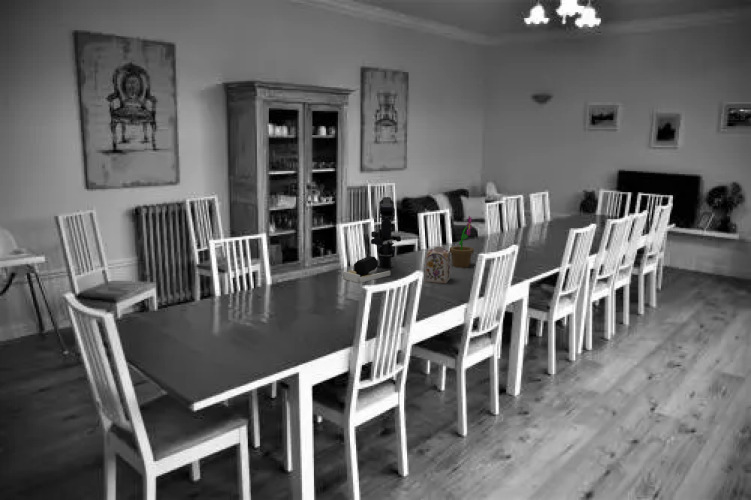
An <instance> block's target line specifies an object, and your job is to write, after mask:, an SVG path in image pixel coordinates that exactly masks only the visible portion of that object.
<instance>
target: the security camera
mask: <svg viewBox="0 0 751 500" xmlns="http://www.w3.org/2000/svg"><path fill="white" fill-rule="evenodd" d="M378 262H379V261H378V258H376V256H371V255H369V256H366V257H364V258H362V259H359V260H357V261H356V262H355V263H353V271H355V272H356V274H357V275H360V277H362V276H366V275H370V273H369V272H370V271H373V270H375V269H376V270H377V268H379V267H378V266H379V265H378V264H379V263H378Z"/></svg>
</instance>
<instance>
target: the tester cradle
mask: <svg viewBox="0 0 751 500" xmlns="http://www.w3.org/2000/svg"><path fill="white" fill-rule="evenodd" d="M376 271H377V268H376V269H375V270H373V271H370V272H369V275H366V276H362V277H360V275H357V274H356V272H355V271H354V270H350V269H349V270H348V271H345V270H344V271H342V280H346V281H350V282H353V283H357V284H360V283H366V282H368V281H373V280H377V279H381V278H384V277H385V278H386V277H390V276H391V270H386V271H383V272H382V271H381V272H378V273H376Z"/></svg>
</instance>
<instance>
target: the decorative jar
mask: <svg viewBox="0 0 751 500" xmlns="http://www.w3.org/2000/svg"><path fill="white" fill-rule="evenodd" d="M451 265H452V255H451V253H450V250H448V249H446V248H445V249H444V246H440V245H439V246H434V248H433V249H428V250H427V252H426V256H425V266H424V267H425V268H424V282H426V283H436V284H447V283H448V281H449V280H450V279H451Z"/></svg>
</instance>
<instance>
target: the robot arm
mask: <svg viewBox="0 0 751 500" xmlns="http://www.w3.org/2000/svg"><path fill="white" fill-rule="evenodd" d="M378 203H379V208H378V209H379V211H378V212H379V219H380V218H381V219H380V221H381V222H380V228H379V230H378V231H376V230H374V231H370V232H371V233H370V234H371V235H370V236H371V239H370V244H371V245H376V246H378V258H379V265H378V267H377V268H382V269H391V268H394V266H393V265H392V258H393V259H394V257H395V248H394V246H393V245H394V244H395V243H394V242H393V241H396V242H397V243H399V242H401V241H402V237H401V236H400V235H395V234H394V235H393V234H392V232H394V229H393V228H392V226H393V223H392V221H393V220H392V219H394V218H395V217H396V216H395V213H396V212H395V211H396V209H395V207H394V206H395V202H394V201H393V200H392V198H391V197H390V196H389V197H388V196H383V197H382V199H381V200H379V202H378Z"/></svg>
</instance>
